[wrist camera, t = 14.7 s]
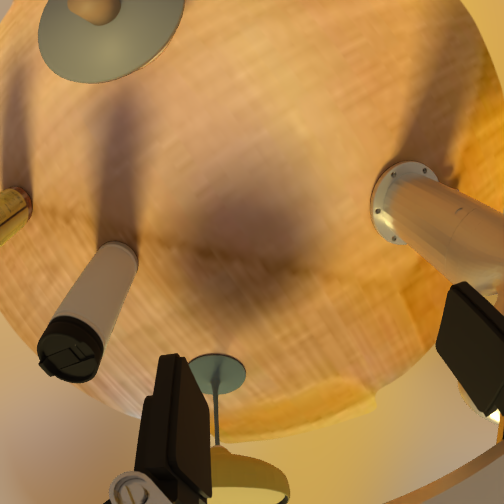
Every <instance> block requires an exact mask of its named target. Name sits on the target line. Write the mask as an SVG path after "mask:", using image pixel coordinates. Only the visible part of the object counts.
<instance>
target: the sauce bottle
mask: <svg viewBox="0 0 504 504" xmlns="http://www.w3.org/2000/svg"><path fill="white" fill-rule="evenodd" d="M31 213H32V205H31V200H30V197H29V196H28V194H27V193H26V191H25V190H23V189H22V188H20V187H10V188H8V189H5V190H3V191H2V192H0V247H1V246H2V245H3V244H5V243H6V242H7V241H8V240H9V239H10V238H11V237H12V236H13V235H15V234H16V233H17V232H18V231H19V230H20V229H22V228H23V227H24V226H25V224H26V223H27V222H28V220H29V219H30V217H31Z"/></svg>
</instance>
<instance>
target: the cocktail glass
mask: <svg viewBox="0 0 504 504" xmlns="http://www.w3.org/2000/svg"><path fill="white" fill-rule="evenodd" d="M188 365H189V367H190V369H191V371H192V373H193V375H194V377H195V379H196V382H197V384H198V386H199V388H200V390H201V392H202V393H205V394H212V395H213V400H214V421H215V446H213V447H211V448H210V452H211V477H212V497H211V498H207V504H287V503H288V501H289V498H290V489H289V484H288V480H287V478H286V476H285V475H284V474H283V472H282V471H281V470H279V469H278V468H276V467H274V466H273V465H271V464H269V463H267V462H264V461H262V460H259V459H255V458H251V457H247V456H241V455H235V454H231V453H230V452H229V451H228V450H227V449H226V448H224V447H223V446H220V442H219V421H218V395H219V394H226V393H229V392H232V391H234V390H236V389H237V388H239V387H240V386H241V385H242V384H243V382H244V380H245V377H246V373H245V369H244V367H243V366H242V365H241V364H240V363H239V362H238V361H237V360H235V359H233V358H230V357H227V356H223V355H206V356H202V357H199V358H196V359H194V360H193V361H191V362H190V363H189V364H188Z"/></svg>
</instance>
